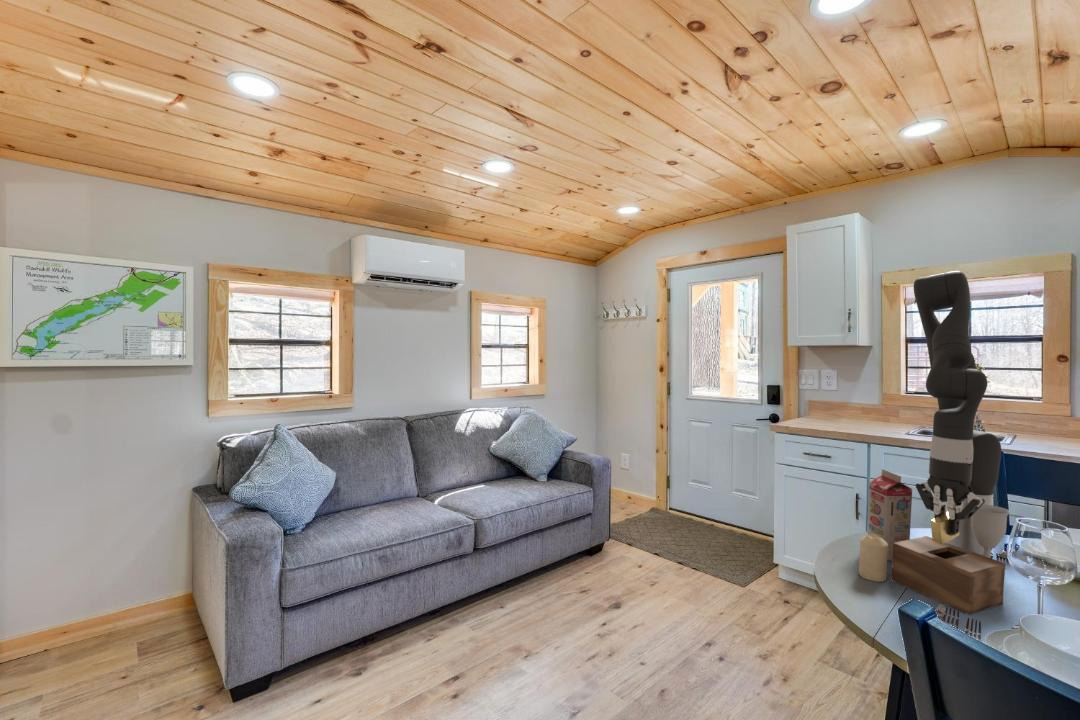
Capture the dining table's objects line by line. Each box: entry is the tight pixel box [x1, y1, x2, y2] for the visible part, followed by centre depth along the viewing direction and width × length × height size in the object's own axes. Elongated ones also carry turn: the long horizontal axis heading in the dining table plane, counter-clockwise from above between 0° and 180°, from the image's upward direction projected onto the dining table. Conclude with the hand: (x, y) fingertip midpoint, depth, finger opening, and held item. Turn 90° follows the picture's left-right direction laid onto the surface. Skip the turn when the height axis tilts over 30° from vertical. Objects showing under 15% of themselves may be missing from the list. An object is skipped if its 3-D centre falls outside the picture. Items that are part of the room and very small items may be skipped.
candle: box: [858, 533, 888, 583], centre depth 124 cm, size 6×6×10 cm
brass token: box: [930, 511, 959, 544], centre depth 117 cm, size 2×5×6 cm
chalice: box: [971, 504, 1011, 559], centre depth 121 cm, size 7×7×18 cm
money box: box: [890, 535, 1006, 615], centre depth 117 cm, size 12×16×9 cm
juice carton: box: [866, 469, 913, 560], centre depth 136 cm, size 7×7×22 cm
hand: (946, 532), depth 117 cm, fingers closed on brass token, 1 cm apart
